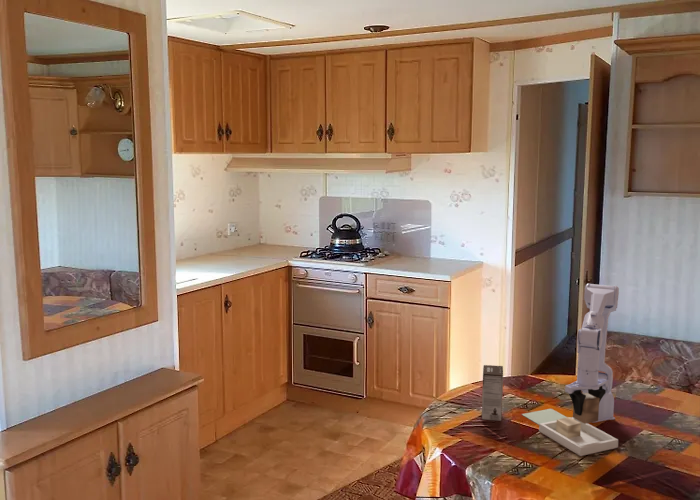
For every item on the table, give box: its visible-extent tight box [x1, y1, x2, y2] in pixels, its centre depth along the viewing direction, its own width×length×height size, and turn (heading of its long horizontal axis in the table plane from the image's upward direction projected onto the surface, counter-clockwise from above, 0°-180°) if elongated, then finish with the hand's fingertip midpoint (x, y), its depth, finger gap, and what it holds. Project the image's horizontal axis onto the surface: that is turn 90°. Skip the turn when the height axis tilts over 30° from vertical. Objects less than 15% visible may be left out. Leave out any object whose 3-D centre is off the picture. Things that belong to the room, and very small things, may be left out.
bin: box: [538, 416, 619, 457], centre depth 198 cm, size 14×18×3 cm
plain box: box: [556, 416, 581, 438], centre depth 201 cm, size 5×5×4 cm
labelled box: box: [572, 392, 599, 424], centre depth 194 cm, size 5×5×7 cm
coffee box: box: [481, 364, 504, 422], centre depth 215 cm, size 9×6×16 cm
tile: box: [521, 408, 568, 426], centre depth 213 cm, size 12×12×1 cm
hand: (585, 412), depth 194 cm, fingers closed on labelled box, 5 cm apart
